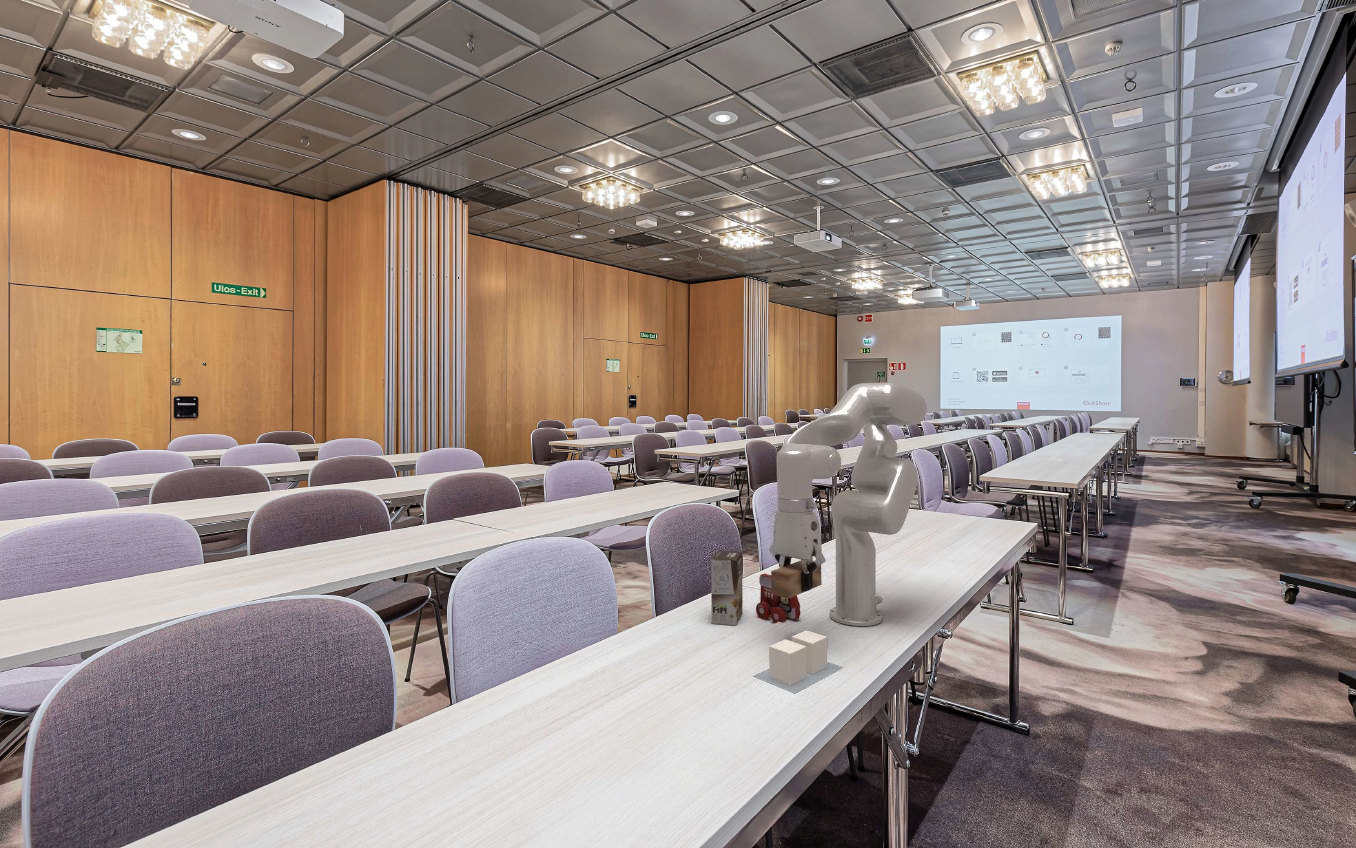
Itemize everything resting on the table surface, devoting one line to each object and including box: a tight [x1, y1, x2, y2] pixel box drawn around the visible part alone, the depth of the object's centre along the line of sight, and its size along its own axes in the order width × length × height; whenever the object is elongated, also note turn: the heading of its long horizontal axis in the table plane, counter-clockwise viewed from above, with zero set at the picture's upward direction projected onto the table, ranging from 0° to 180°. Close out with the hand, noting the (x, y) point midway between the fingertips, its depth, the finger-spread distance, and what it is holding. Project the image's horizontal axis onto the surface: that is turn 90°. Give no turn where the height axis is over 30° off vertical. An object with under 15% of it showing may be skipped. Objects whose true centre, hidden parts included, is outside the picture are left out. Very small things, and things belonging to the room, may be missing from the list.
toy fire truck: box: [755, 573, 802, 624], centre depth 153 cm, size 7×12×10 cm, turn 38°
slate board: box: [752, 661, 844, 695], centre depth 121 cm, size 16×10×1 cm, turn 133°
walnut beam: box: [770, 559, 823, 599], centre depth 135 cm, size 12×4×5 cm, turn 133°
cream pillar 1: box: [768, 639, 806, 686], centre depth 118 cm, size 5×5×6 cm
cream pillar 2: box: [791, 629, 828, 674], centre depth 123 cm, size 5×5×6 cm
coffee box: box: [710, 550, 744, 626], centre depth 154 cm, size 9×6×16 cm
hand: (797, 586), depth 135 cm, fingers closed on walnut beam, 4 cm apart
